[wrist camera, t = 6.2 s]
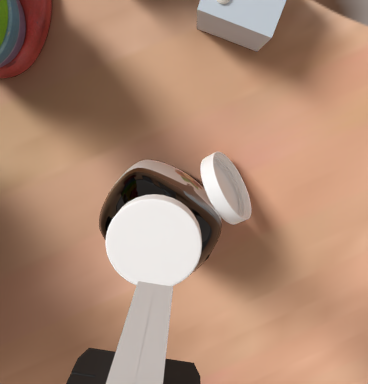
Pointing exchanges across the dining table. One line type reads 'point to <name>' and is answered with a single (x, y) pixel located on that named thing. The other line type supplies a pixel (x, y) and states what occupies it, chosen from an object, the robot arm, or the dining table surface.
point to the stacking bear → (22, 33)
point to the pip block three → (240, 20)
